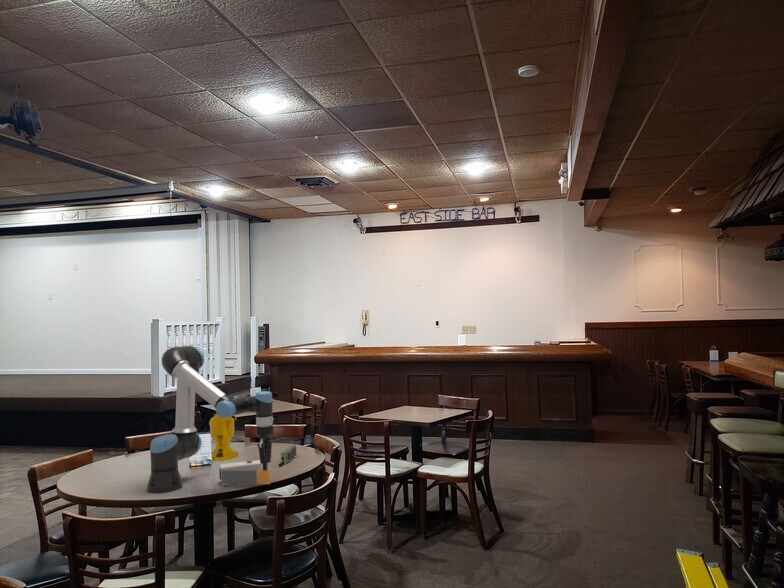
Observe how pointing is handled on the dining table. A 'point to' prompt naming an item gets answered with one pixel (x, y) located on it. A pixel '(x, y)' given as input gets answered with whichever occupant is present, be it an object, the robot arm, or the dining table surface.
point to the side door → (245, 476)
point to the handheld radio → (288, 454)
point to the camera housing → (240, 467)
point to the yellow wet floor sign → (222, 438)
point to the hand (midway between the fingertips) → (266, 477)
